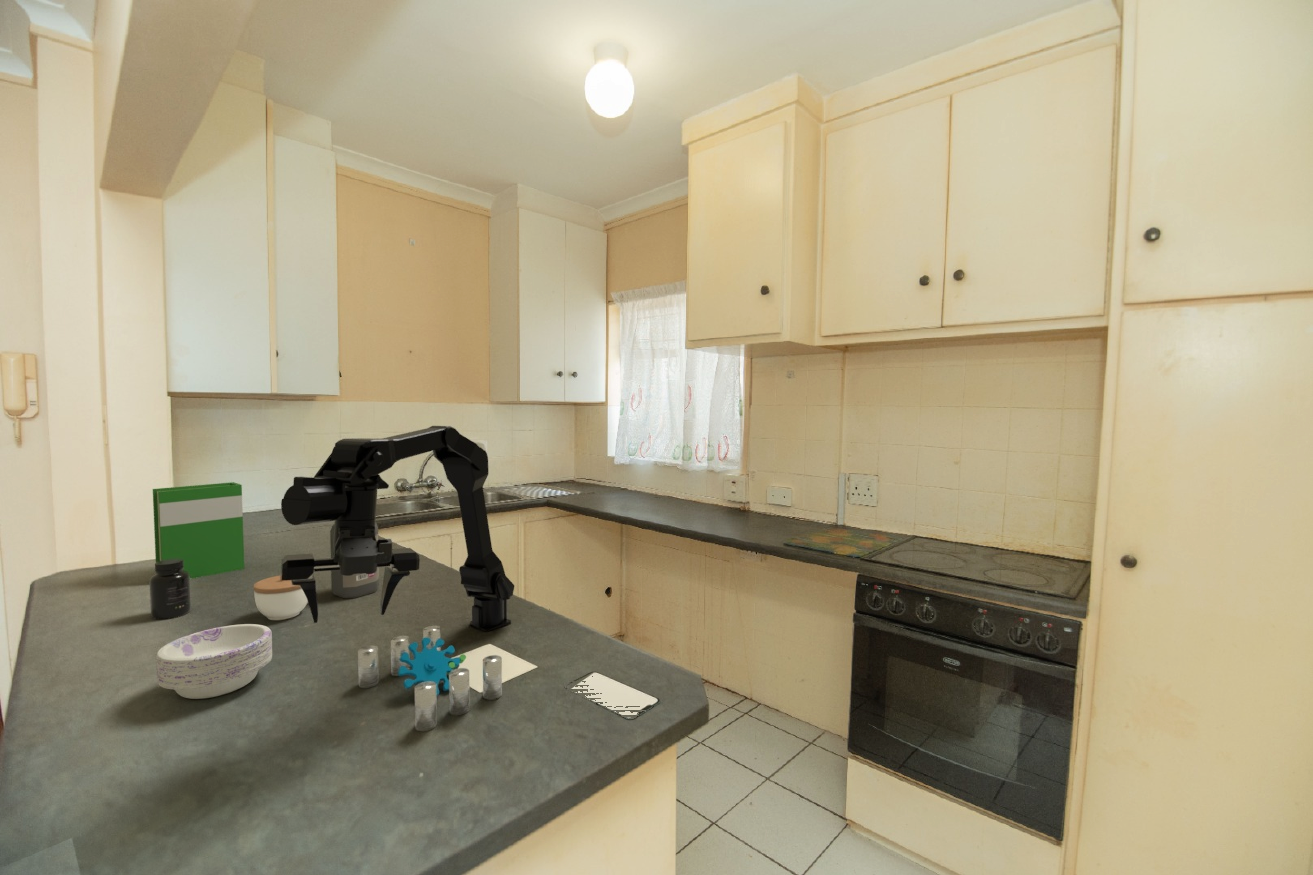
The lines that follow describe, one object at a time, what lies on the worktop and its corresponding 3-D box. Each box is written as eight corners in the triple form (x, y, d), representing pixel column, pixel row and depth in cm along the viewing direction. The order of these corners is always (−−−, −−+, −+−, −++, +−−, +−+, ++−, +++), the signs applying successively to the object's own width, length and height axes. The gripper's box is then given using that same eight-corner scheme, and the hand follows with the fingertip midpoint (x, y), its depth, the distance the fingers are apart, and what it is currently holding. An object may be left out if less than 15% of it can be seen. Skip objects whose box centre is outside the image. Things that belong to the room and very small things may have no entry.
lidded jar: (265, 628, 118) (263, 584, 117) (247, 616, 124) (245, 574, 124) (320, 613, 126) (319, 572, 126) (300, 603, 133) (299, 564, 132)
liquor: (383, 590, 142) (381, 472, 141) (347, 600, 135) (344, 476, 133) (363, 583, 147) (361, 470, 145) (327, 593, 140) (324, 473, 138)
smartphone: (560, 689, 95) (630, 723, 85) (560, 686, 95) (630, 720, 85) (594, 672, 101) (663, 702, 91) (594, 669, 101) (663, 699, 91)
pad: (489, 644, 112) (489, 643, 112) (537, 667, 102) (537, 666, 102) (432, 665, 102) (432, 664, 102) (480, 693, 93) (480, 692, 93)
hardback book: (162, 583, 145) (158, 492, 144) (156, 578, 150) (152, 489, 148) (244, 568, 159) (241, 484, 158) (236, 563, 164) (233, 482, 162)
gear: (404, 699, 87) (396, 639, 93) (393, 715, 90) (386, 655, 96) (473, 686, 94) (462, 630, 100) (461, 701, 97) (451, 646, 103)
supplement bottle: (143, 617, 123) (141, 563, 122) (179, 606, 129) (177, 555, 129) (162, 622, 120) (160, 567, 120) (198, 611, 127) (196, 559, 126)
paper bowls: (211, 663, 102) (209, 620, 102) (293, 665, 102) (291, 622, 101) (130, 708, 87) (128, 658, 86) (226, 711, 87) (224, 661, 86)
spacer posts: (435, 655, 106) (435, 624, 106) (505, 694, 93) (505, 658, 92) (355, 684, 95) (354, 649, 95) (421, 733, 81) (421, 693, 81)
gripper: (286, 527, 76) (279, 643, 76) (429, 522, 87) (424, 624, 87) (284, 517, 86) (277, 620, 85) (414, 514, 96) (409, 606, 96)
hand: (349, 618), depth 88 cm, fingers open, 9 cm apart
